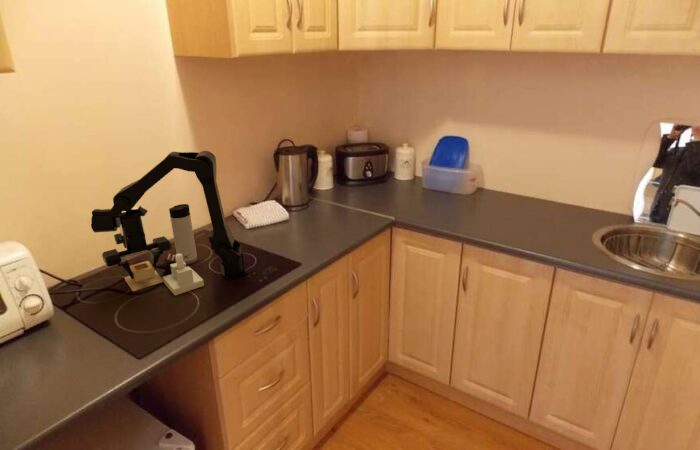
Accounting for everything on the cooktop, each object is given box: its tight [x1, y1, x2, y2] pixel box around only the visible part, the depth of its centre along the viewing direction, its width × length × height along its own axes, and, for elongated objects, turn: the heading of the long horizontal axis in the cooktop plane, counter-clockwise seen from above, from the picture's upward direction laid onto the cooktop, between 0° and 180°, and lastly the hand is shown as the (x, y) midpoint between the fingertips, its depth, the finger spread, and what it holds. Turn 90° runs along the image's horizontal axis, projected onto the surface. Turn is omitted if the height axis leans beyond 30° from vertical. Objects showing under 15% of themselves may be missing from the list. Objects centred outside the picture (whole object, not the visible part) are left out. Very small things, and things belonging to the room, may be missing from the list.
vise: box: [162, 253, 205, 296], centre depth 141 cm, size 9×10×10 cm
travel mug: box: [168, 203, 198, 265], centre depth 154 cm, size 6×7×20 cm
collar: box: [129, 260, 156, 282], centre depth 144 cm, size 6×6×3 cm
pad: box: [123, 270, 164, 292], centre depth 145 cm, size 9×9×1 cm
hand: (142, 275), depth 144 cm, fingers closed on collar, 6 cm apart
